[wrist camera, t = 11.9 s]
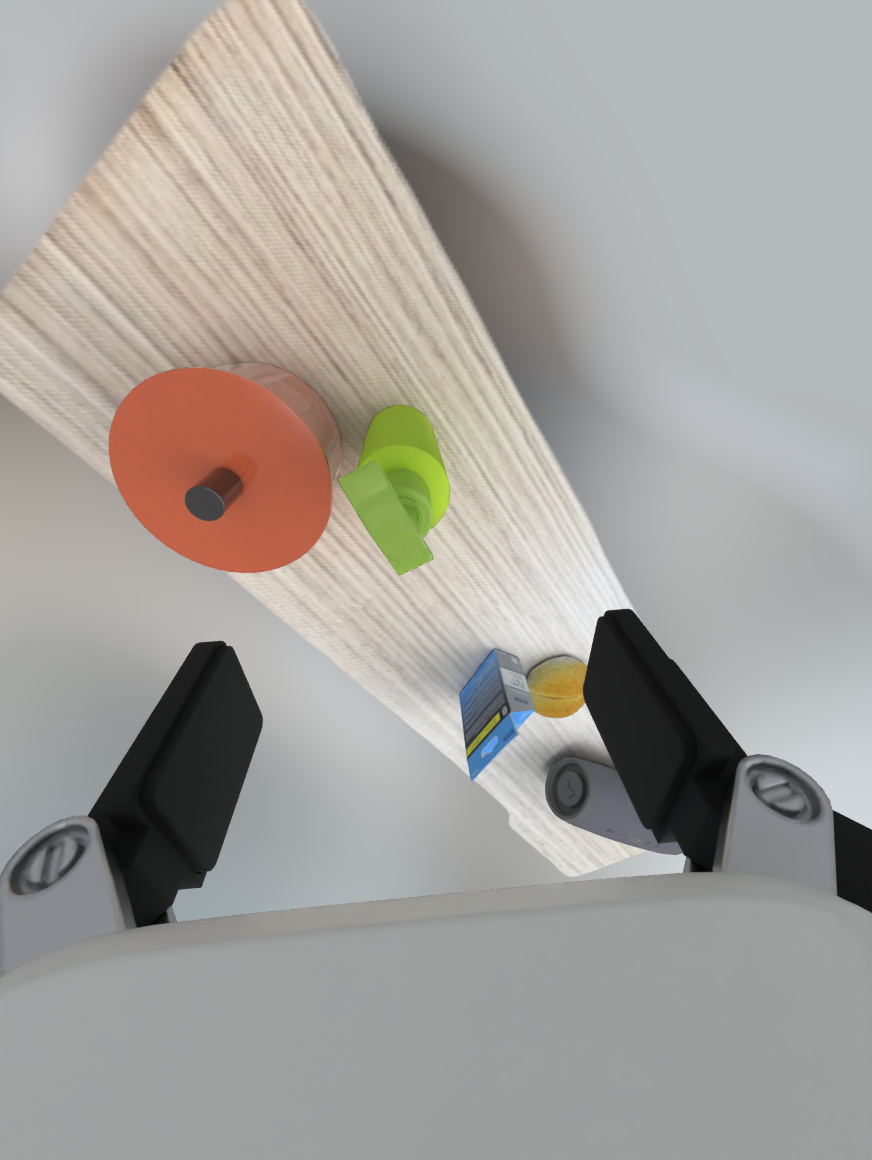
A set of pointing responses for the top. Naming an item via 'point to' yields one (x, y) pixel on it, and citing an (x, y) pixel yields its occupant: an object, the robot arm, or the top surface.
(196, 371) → the pot lid
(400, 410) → the soap dispenser
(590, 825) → the bluetooth speaker
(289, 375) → the pot
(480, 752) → the label tape box
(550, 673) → the bread roll
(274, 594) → the top surface
